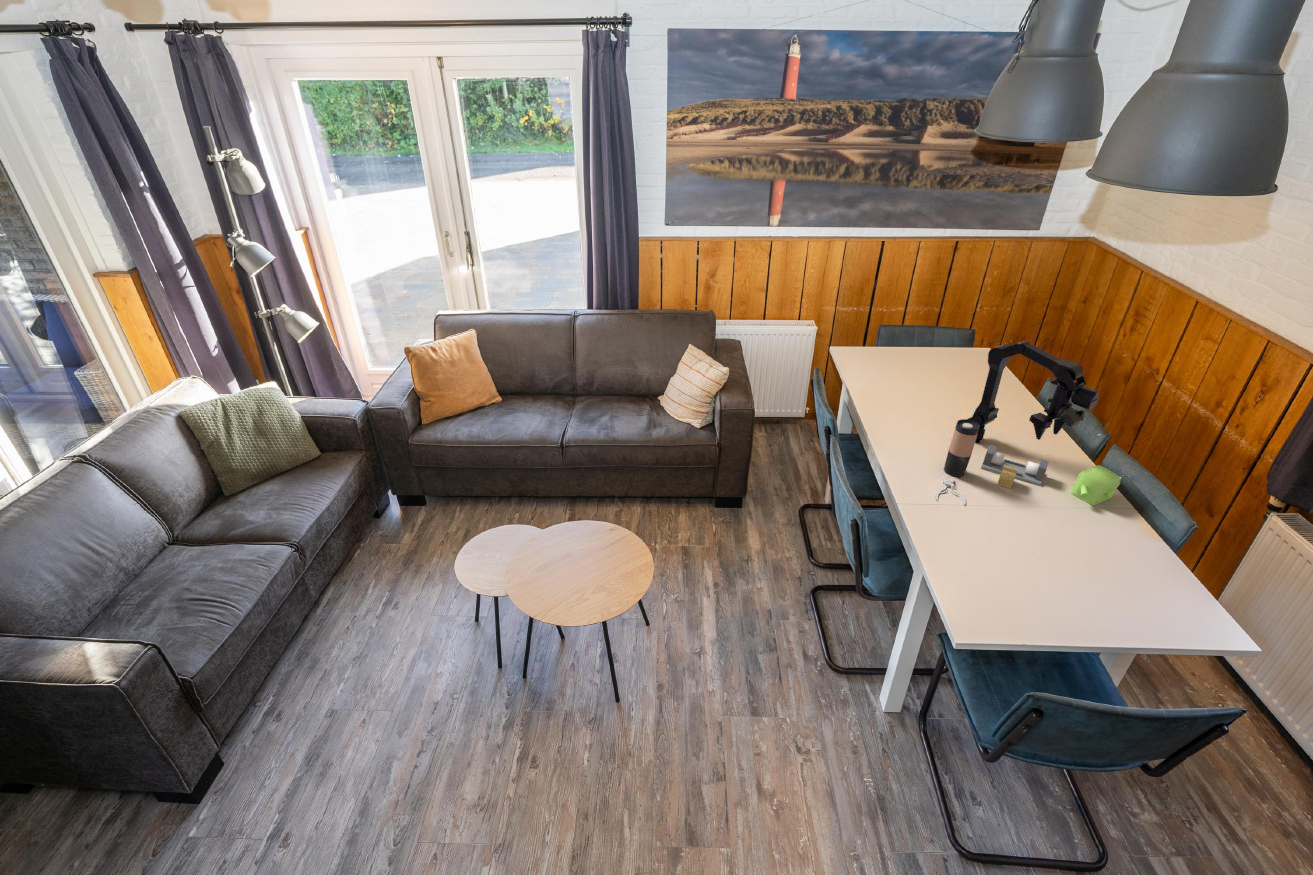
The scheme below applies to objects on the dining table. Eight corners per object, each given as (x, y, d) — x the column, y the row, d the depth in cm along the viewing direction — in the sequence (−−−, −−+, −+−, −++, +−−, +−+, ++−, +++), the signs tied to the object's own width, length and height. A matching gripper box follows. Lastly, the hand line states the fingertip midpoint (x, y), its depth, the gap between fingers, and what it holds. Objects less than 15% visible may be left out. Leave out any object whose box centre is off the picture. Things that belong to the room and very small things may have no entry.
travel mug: (965, 469, 246) (980, 422, 236) (964, 479, 240) (979, 431, 230) (943, 464, 248) (957, 417, 238) (942, 474, 242) (956, 426, 232)
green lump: (1088, 513, 225) (1099, 491, 220) (1061, 496, 232) (1071, 474, 227) (1120, 498, 232) (1132, 477, 227) (1094, 483, 239) (1104, 461, 234)
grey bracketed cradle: (980, 468, 246) (985, 454, 243) (985, 456, 254) (990, 442, 251) (1040, 485, 237) (1046, 471, 234) (1043, 473, 245) (1049, 459, 242)
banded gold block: (1010, 488, 235) (1015, 475, 233) (996, 484, 237) (1001, 471, 235) (1013, 480, 240) (1017, 468, 237) (999, 476, 242) (1004, 464, 239)
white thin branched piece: (936, 497, 228) (933, 474, 240) (934, 500, 228) (932, 477, 241) (966, 502, 225) (962, 479, 238) (965, 506, 226) (961, 482, 239)
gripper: (1064, 413, 223) (1049, 453, 231) (1099, 403, 230) (1083, 441, 238) (1035, 399, 231) (1021, 438, 239) (1070, 390, 239) (1055, 427, 247)
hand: (1046, 436), depth 241 cm, fingers open, 9 cm apart
